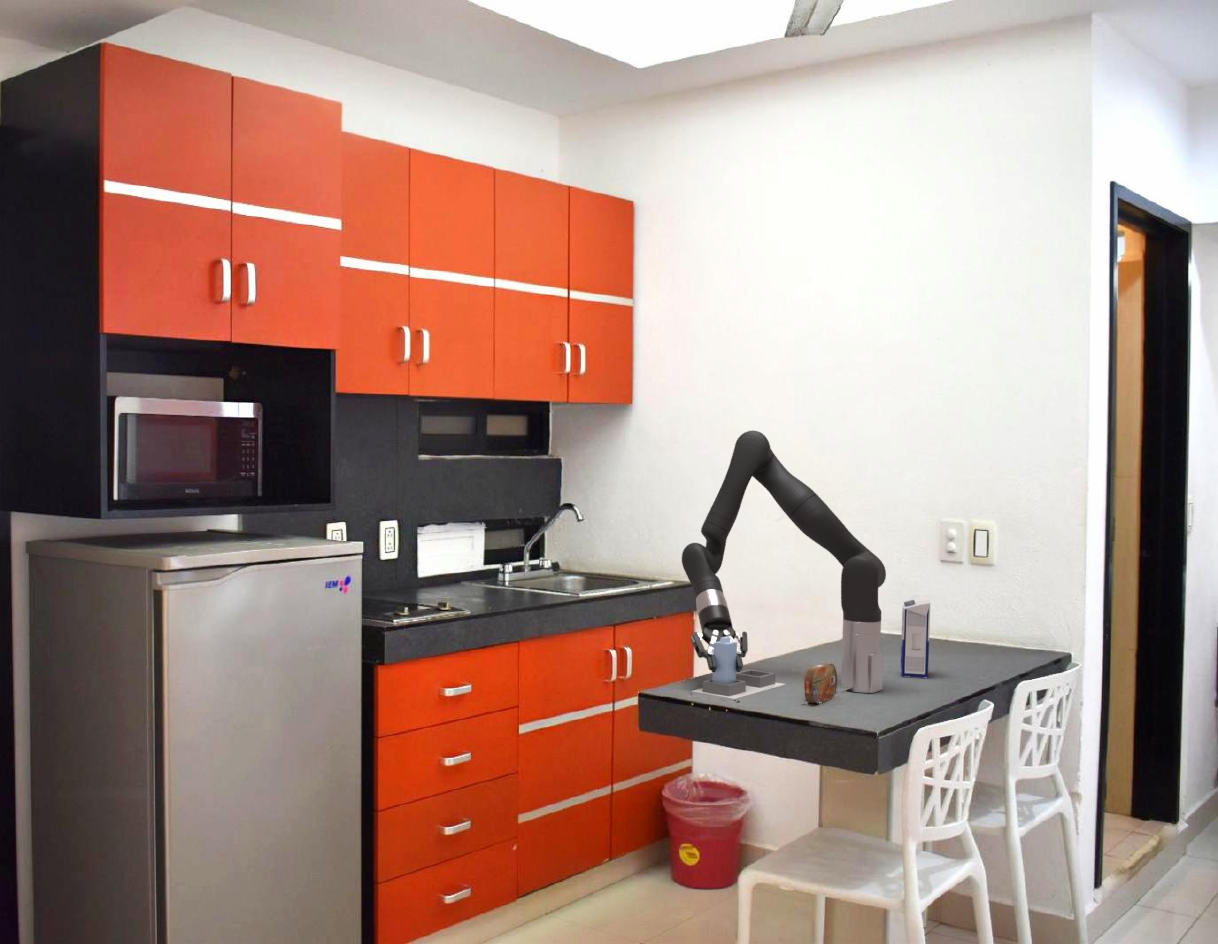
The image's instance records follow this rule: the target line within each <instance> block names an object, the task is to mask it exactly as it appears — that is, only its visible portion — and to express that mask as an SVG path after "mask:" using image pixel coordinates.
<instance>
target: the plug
mask: <svg viewBox="0 0 1218 944" xmlns="http://www.w3.org/2000/svg"><path fill="white" fill-rule="evenodd" d="M737 647H738V641H737V642H736V641H735V642H730V637H721V640H720V641H718V642H714V645H713V653H712V654H713V655H714V657H715V662H716V666H717V669H716V671H715V672H712V678H711V679H712V682H715V683H721V684H727V685H729V684H733V683H736V673H737V672H736V656H737Z"/></svg>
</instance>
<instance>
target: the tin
mask: <svg viewBox="0 0 1218 944" xmlns="http://www.w3.org/2000/svg"><path fill="white" fill-rule="evenodd" d="M803 680H804V681H803V682H804V683H803V684H804V687H803V688H804V697H805V698H804V699H805V700H806V701H808V702H812V703H811V704H814V703H817V705H819V704H818V703H819V702H824V703H826V702H827V700H828V701H830V700H832V699H833V698H834V697H835V694H836V693H837V688H838V675H837V668H836V666H835V664H833V663H831V662H830V663H820V664H817V665H815V666H812V667H809V668H808V669H807V670H806V672H805V674H804V679H803ZM831 698H832V699H831ZM829 699H830V700H829ZM825 701H826V702H825Z"/></svg>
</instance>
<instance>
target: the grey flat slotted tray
mask: <svg viewBox="0 0 1218 944" xmlns="http://www.w3.org/2000/svg"><path fill="white" fill-rule="evenodd" d="M776 675H777V674H776V673H774V672H768V671H761V670H756V669H746V670H741V671H740V672H736V683H733V684H729V685H727V684H721V683H715V682H712V678H710V679H707V680H702V687H701V688H697V689H695V690H692V691H691V692H692V693H698V694H703V695H709V696H715V697H720V698H724V699H729V700H733V701H736V700H737V699H739V698H742V697H746V696H750V695H753V694H754V695H755V694H757V693H760V692H765V691H767V690H771V689H775V688H778V687H781V686H786V685H787V684H786V683H781V682H776Z"/></svg>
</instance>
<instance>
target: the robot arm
mask: <svg viewBox="0 0 1218 944" xmlns="http://www.w3.org/2000/svg"><path fill="white" fill-rule="evenodd" d="M752 477H753V479H755V480H756V481H757V482H758V483H759V484H761V486H763V487H764V488H765V490H767V492H768V493H769V494H770V495H771V497H772V498H773V500H774V501H775V502H776V504H777V505H778V506H779V508H780V509H781V510H782V512H784V513H785V515H786V516H787V518H789V520H791V522H792V523H793V524H794V526H795V527H797V529H799V530H800V531H801V533H803V535H805V536H807V538H809V539H811V540H812V542H815V543H816V544H817V545H819V546H820V547H822V548H823V549H824V550H826V551H828V553H830V554H831V556H833V557H834V558H835V559H836V560H837V561H838V563H839V564H840V565H841V566H842V570H841V575H840V576H841V577H840V604H841V605H840V606H841V610H842V637H841V638H842V641H841V642H842V643H841V674H840V675H841V676H840V685H841V687H844V688H847V689H846V691H847V692H855V693H866V694H867V693H869V694H874V693H877V692H880V691H883V683H884V682H883V679H884V678H883V677H884V674H883V673H884V672H883V671H884V651H882V650H881V639H882V638H881V636H882V635H881V634H882V633H881V632H882V610H881V608H880V606H879V605H880V604H879V588H880V587H882V586H883V584H884V583H885V581H886V578H887V572H886V570H887V569H886V567H885V565H884V562H883V561H882V560H881V559H880V558H879V557H878V556H877V555H876V554H875V553H873V552H872V551H871V550H870V549H869V548H867V547H866V545H864V544H863V543H862V542H861V541H859V540H858V538H856V537H855V536H854V535H853V533H852V532H851V531H850V530H848V528H847V527H846V525H845V524H844V523H843V522H842V521H841V520H840V519H839V517H838V516H837V515H836V514H835V513H834V511H833V510H831V508H830V507H829V505H827V503H826V502H825V501H824V500H823V499H822V498H821V497H820V496H819V495H818V494H817V492H815V491H814V490H813V489H812V488H811V487H810V486H809V485H807V484H806V483H804V482H803V481H802V480H800V479H799V478H797V477H796V476H794V475H793V474H792V473H791V472H789V470H788V469H787V468H786V467H785V466H784V465H783V464H782V462H781V461H780V460H779V459H778V457H777V456H776V454H775V453H774V451H773V449H772V448H771V444H770V441H769V440H768V437H766V435H765V434H763V433H762V432H761V431H757V430H748V431H745V432H743V433H742V434H740V435H739V436H738V438H737V440H736V441H735V444H734V448H733V452H732V456H731V459H730V463H729V465H728V468H727V471H726V474H725V476H724V479H723V481H722V483H721V486H720V488H719V491H718V492H717V494H716V497H715V498H714V501H713V502H712V505H711V506H710V509H709V511H708V513H707V515H706V518H705V520H704V522H703V524H702V526H701V530H700V532H701V535H702V536H703V537H704V538H705V540H706V541H705V542H706V543H705V545H703V544H702V543H699V542H690V543H689V544H687V545H686V546H685V547H684V549H683V551H682V553H681V563H682V564H681V565H682V568H683V570H684V573H685V575H686V577H687V579H688V580H689V582H690V584H691V586H692V588H693V593H694V598H695V604H696V613H697V616H698V621H699V624H700V630H701V632H699V633H698V632H697V631H693V633H692V634H691V637H690V642H691V643H692V645H693V648H694V650H695V652H696V655H697V657H698V658H699V659H702V658H704V659H706V663H707V667H708V670H709V671H711V673H713V672H715V671H716V669H717V666H716V662H715V657H714V655H713V645H714V642H718V641H720V640H721V637H730V642H736V640H737V644H739V647H738V646H737V656H736V673H737V672H741V671H743V668H744V662H743V661H744V660H743V658H745V657H746V656H747V652H748V649H749V648H748V647H749V646H748V645H749V643H748V632H746V631H742V632H741V633H740V632H736V630H735V629H734V628H733V623H732V619H731V615H730V610H729V606H728V603H727V600H726V597H725V595H724V594H725V593H724V591H723V590H724V589H723V587H722V582H721V580H720V578H719V577H718V576H717V575H716V574H717V573H718V572H719V571H720V570H721V566H722V565H723V559H724V555H725V551H726V544H727V540H728V537H729V535H730V532H731V530H732V528H733V526H734V524H735V522H736V520H737V517H738V515H739V512H740V509H741V506H742V503H743V498H744V496H745V493H746V490H747V488H748V486H749V483H750V481H751V479H752ZM735 639H736V640H735ZM702 640H703V641H704V642H705V643H706V644H707V645H708V646H707V649H705V647H704V645H703V642H702Z"/></svg>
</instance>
